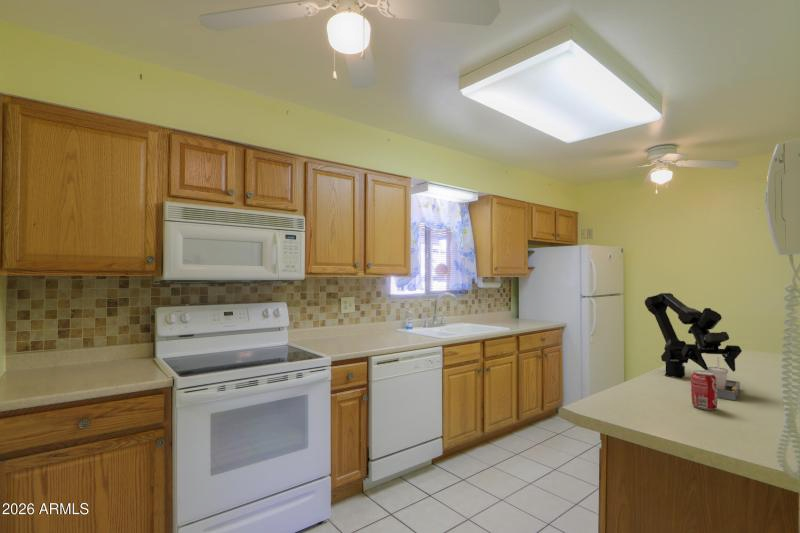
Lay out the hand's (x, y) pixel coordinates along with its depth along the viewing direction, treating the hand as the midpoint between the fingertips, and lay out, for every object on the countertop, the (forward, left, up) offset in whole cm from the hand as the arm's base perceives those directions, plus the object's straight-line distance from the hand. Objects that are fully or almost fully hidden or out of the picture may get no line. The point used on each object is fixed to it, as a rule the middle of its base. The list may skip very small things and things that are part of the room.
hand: (720, 370), depth 149 cm
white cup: (-1, +1, -10) cm, 10 cm away
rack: (-1, +6, -9) cm, 11 cm away
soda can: (-2, -22, -10) cm, 24 cm away
